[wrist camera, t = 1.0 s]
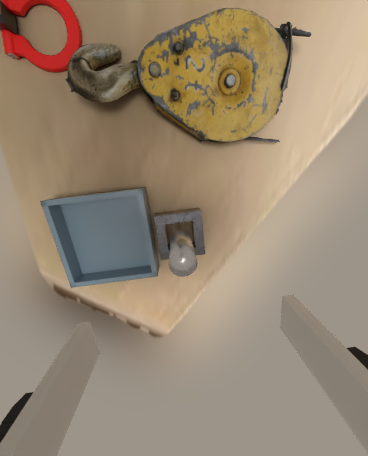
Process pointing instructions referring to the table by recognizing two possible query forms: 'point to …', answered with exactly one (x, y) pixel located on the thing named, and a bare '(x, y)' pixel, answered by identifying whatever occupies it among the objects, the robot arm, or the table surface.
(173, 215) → the bracket
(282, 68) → the pulley block
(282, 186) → the table surface
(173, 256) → the pin
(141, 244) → the parts tray
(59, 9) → the tow hook
